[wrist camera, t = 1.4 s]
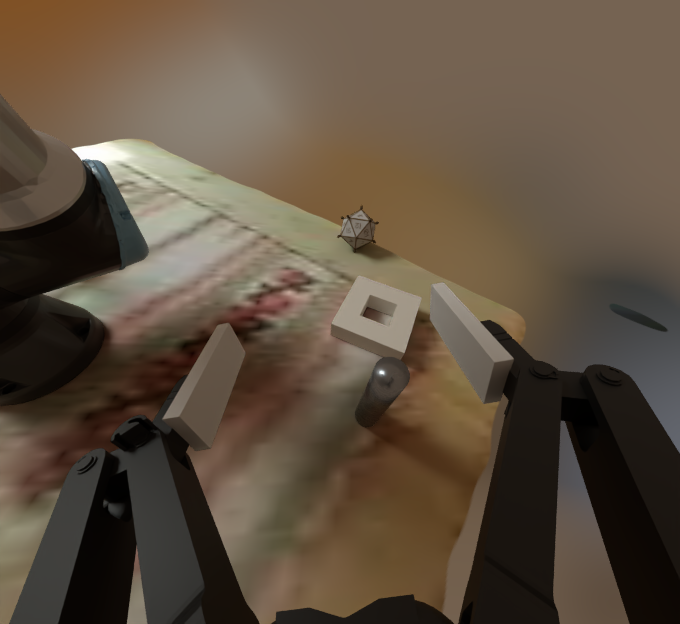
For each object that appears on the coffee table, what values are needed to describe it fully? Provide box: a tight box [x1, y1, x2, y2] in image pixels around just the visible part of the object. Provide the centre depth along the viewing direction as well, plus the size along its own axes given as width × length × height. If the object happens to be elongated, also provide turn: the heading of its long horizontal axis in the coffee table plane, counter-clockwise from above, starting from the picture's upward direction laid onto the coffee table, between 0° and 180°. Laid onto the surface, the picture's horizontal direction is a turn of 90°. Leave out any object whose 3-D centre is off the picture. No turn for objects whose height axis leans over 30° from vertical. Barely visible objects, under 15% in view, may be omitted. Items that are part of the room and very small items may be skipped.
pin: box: [355, 357, 410, 427], centre depth 28 cm, size 3×3×15 cm
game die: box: [337, 206, 379, 253], centre depth 53 cm, size 9×8×10 cm
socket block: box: [331, 275, 421, 360], centre depth 42 cm, size 12×12×4 cm
